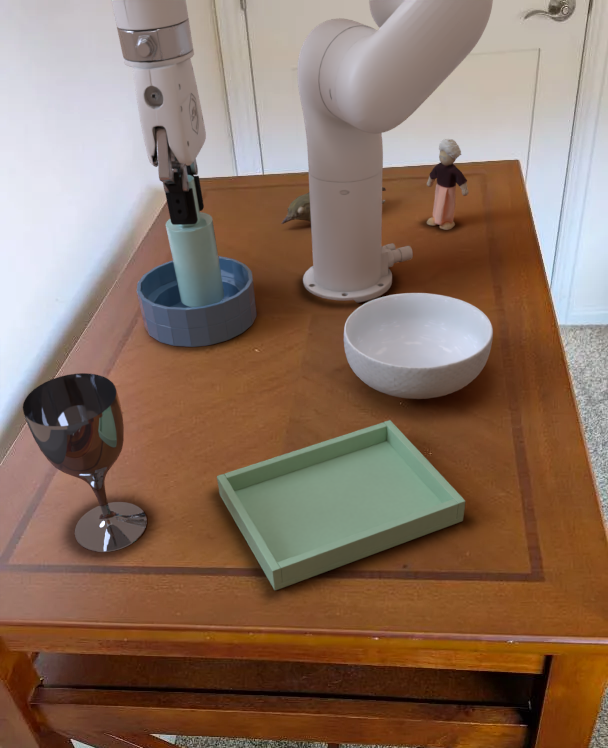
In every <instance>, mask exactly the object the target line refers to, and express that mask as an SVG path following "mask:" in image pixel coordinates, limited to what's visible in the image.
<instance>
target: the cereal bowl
mask: <svg viewBox="0 0 608 748" xmlns="http://www.w3.org/2000/svg"><path fill="white" fill-rule="evenodd" d="M493 337H494V329H493V325H492V322H491V321H490V318H489V317H488V316H487V315H486V313H484V311H482V310H481V309H479V308H478V307H476V306H475V305H473V304H471V303H469V302H467V301H464V300H462V299H459V298H456V297H452V296H448V295H443V294H437V293H429V292H428V293H426V292H405V293H396V294H389V295H386V296H382V297H381V296H380V297H377V298H375V299H372V300H369V301H366V302H365V303H363V304H361V305H360V306H358V307H357V308H355V309H354V310H353V312H351V313H350V315H349V316H348V317H347V319H346V321H345V323H344V327H343V347H344V353H345V358H346V360H347V363H348V364H349V367H350V368H351V370H352V372H353V373H354V374H355V376H356V377H358V378H359V380H361V381H362V382H363V383H364V384H365V385H367V386H368V387H370V388H372V389H373V390H375V391H378V392H379V393H382V394H385V395H388V396H391V397H397V398H402V399H411V400H427V399H433V398H440V397H444V396H447V395H450V394H453V393H456V392H458V391H460V390H462V389H464V388H465V387H467V386H468V385H469V384H470V383H472V382H473V381H474V380H475V379H476V378H477V377H478V376H479V375H480V374H481V372H482V371H483V369H484V367H485V366H486V364H487V361H488V360H489V356H490V353H491V349H492V343H493Z"/></svg>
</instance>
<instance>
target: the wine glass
mask: <svg viewBox="0 0 608 748" xmlns="http://www.w3.org/2000/svg"><path fill="white" fill-rule="evenodd" d="M22 411H23V416H24V419H25V421H26V424H27V426H28V428H29V430H30V433H31V436H32V437H33V439H34V441H35V443H36V444H37V446H38V448H39V449H40V452H41V453H42V454H43V455H44V457H45V458H46V460H47V461H49V463H50V464H51V466H53V467H54V468H55V469H57V470H58V471H60V472H62V473H64V474H66V475H68V476H72V477H75V478H77V479H80V480H82V481H83V482H85V483H86V484H88V486H90V488H91V489H92V492H93V493H94V496H95V497H96V499H97V502H98V504H99V505H97V506H95V507H94V508H91V509H90V510H88V511H87V512H86V513H84V515H82V516H81V517H80V518H79V520H78V521H77V523H76V525H75V528H74V539H75V540H76V542H77V544H78V545H79V546H81V547H82V548H83V549H86V550H88V551H91V552H96V553H109V552H115V551H119V550H121V549H124V548H126V547H129V546H130V545H132V544H133V543H135V542H136V541H137V540H138V539H140V538H141V536H142V535H143V534H144V532H145V531H146V529H147V526H148V518H147V514H146V513H145V511H144V510H143V509H142V508H141V507H140V506H138V505H136V504H134V503H130V502H125V501H113V502H108V498H107V491H106V485H105V481H106V476H107V474H108V473H109V471H110V469H111V468H112V467H113V465H114V464H115V463H116V462H117V460H118V459H119V456H120V455H121V453H122V450H123V447H124V442H125V441H124V440H125V439H124V438H125V437H124V436H125V429H124V428H125V426H124V415H123V409H122V405H121V401H120V397H119V394H118V389H117V388H116V385H115V384H114V382H113V381H112V380H111V379H110V378H107V377H106V376H103V375H99V374H95V373H88V372H87V373H85V372H82V373H71V374H65V375H60V376H58V377H54V378H51V379H49V380H47V381H45V382H43V383H41V384H40V385H38V386H36V387H35V388H33V389H32V390H31V392H29V393H28V395H26V397H25V399H24V401H23V403H22Z"/></svg>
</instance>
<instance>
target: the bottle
mask: <svg viewBox="0 0 608 748" xmlns="http://www.w3.org/2000/svg"><path fill="white" fill-rule="evenodd" d="M180 177H181V176H180ZM188 182H189V188H192V189H193V195H194V201H195V207H196V212H197V218H198V221H197V223H196V224H185V225H173V224H172V223H171V219H170V218H168V219H167V221H166V222H165V229H166V234H167V239H168V245H169V248H170V254H171V259H172V260H173V264H174V269H175V274H176V278H177V283H178V288H179V293H180V298H181V302H182V303H183V304H184V305H186V306H189V307H199V306H206V305H210V304H214V303H217V302H220V301H221V300H222V299H223V297H224V288H223V281H222V275H221V269H220V263H219V256H220V255H219V252H218V245H217V239H216V232H215V226H214V219H213V217H212V215H210V214H209V213H206V212H203V211H200V210H199V205H198V199H197V193H196V187H195V181H194V177H193V176H191V175H188Z"/></svg>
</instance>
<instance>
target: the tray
mask: <svg viewBox="0 0 608 748" xmlns="http://www.w3.org/2000/svg"><path fill="white" fill-rule="evenodd" d="M216 481H217V486H218V493H219V496H220V498H221V500H222V502H223V503H224V505H225V507H226V508H227V510H228V512H229V514H230V515H231V517H232V519H233V521H234V523H235V524H236V526H237V527H238V529H239V531H240V533H241V534H242V536H243V538H244V540H245V541H246V543H247V546H249V549H250V550H251V552H252V554H253V556H254V557H255V559H256V561H257V562H258V564H259V566H260V567H261V569H262V571H263V573H264V575H265V576H266V579H267V580H268V582H269V583H270V585H271V586H272V587H271V588H273V590H274V591H278V590H281V589H283V588H286V587H289V586H291V585H295V584H297V583H299V582H302V581H305V580H308V579H310V578H313V577H316V576H319V575H321V574H324V573H326V572H328V571H332V570H335V569H337V568H340V567H343V566H345V565H348V564H350V563H351V564H352V563H353V562H356V561H359V560H362V559H364V558H367V557H369V556H370V557H371V556H372V555H375V554H377V553H380V552H384V551H386V550H388V549H391V548H393V547H397V546H399V545H403V544H405V543H407V542H410V541H413V540H416V539H419V538H421V537H424V536H426V535H429V534H432V533H434V532H438V531H440V530H442V529H445V528H448V527H451V526H454V525H455V524H458V523H462V522H463V521H464V516H465V510H466V509H465V507H466V500H465V499H464V498H463V496H462V495H461V494H460V493H459V492H458V491H457V490H456V489H455V488H454V487H453V485H452V484H450V483H449V482H448V481H447V479H446V478H445V476H443V474H441V473H440V472H439V471H438V470H437V469H436V468H435V467H434V466H433V464H432V463H431V462H430V461H429V459H427V458H426V457H425V455H423V453H421V452H420V450H419V449H418V448H417V447H416V446H415V445H414V444H413V443H412V442H411V441H410V440H409V439H408V438H407V436H405V434H404V433H403V432H402V431H401V430H400V429H399V428H398V427H397V426H396V425H395V424H394V423H393V421H392V420H391V419H388V420H386V421H383V422H379V423H377V424H374V425H371V426H368V427H364V428H361V429H358V430H355V431H352V432H349V433H346V434H343V435H340V436H336V437H333V438H330V439H328V440H323V441H320V442H318V443H315V444H312V445H308V446H305V447H303V448H299V449H297V450H292V451H290V452H287V453H284V454H280V455H278V456H275V457H272V458H269V459H265V460H262V461H259V462H255V463H253V464H249V465H247V466H243V467H240V468H237V469H235V470H231V471H228V472H225V473H221V474H218V475H216Z"/></svg>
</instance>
